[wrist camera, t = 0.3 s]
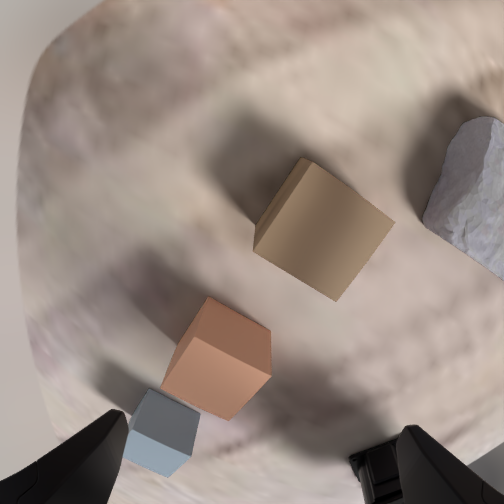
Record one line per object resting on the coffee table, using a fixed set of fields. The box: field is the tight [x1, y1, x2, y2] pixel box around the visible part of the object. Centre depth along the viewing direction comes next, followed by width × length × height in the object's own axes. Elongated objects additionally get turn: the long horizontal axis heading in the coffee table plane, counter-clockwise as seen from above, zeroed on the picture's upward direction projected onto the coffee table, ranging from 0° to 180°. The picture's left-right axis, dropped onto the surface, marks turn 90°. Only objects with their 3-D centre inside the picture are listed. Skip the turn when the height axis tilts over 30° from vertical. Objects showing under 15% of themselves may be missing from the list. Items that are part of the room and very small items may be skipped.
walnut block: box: [253, 157, 395, 302], centre depth 17 cm, size 5×5×5 cm
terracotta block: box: [160, 296, 272, 421], centre depth 21 cm, size 5×5×5 cm
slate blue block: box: [123, 388, 200, 478], centre depth 24 cm, size 5×5×5 cm
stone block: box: [422, 116, 504, 281], centre depth 18 cm, size 12×5×10 cm
